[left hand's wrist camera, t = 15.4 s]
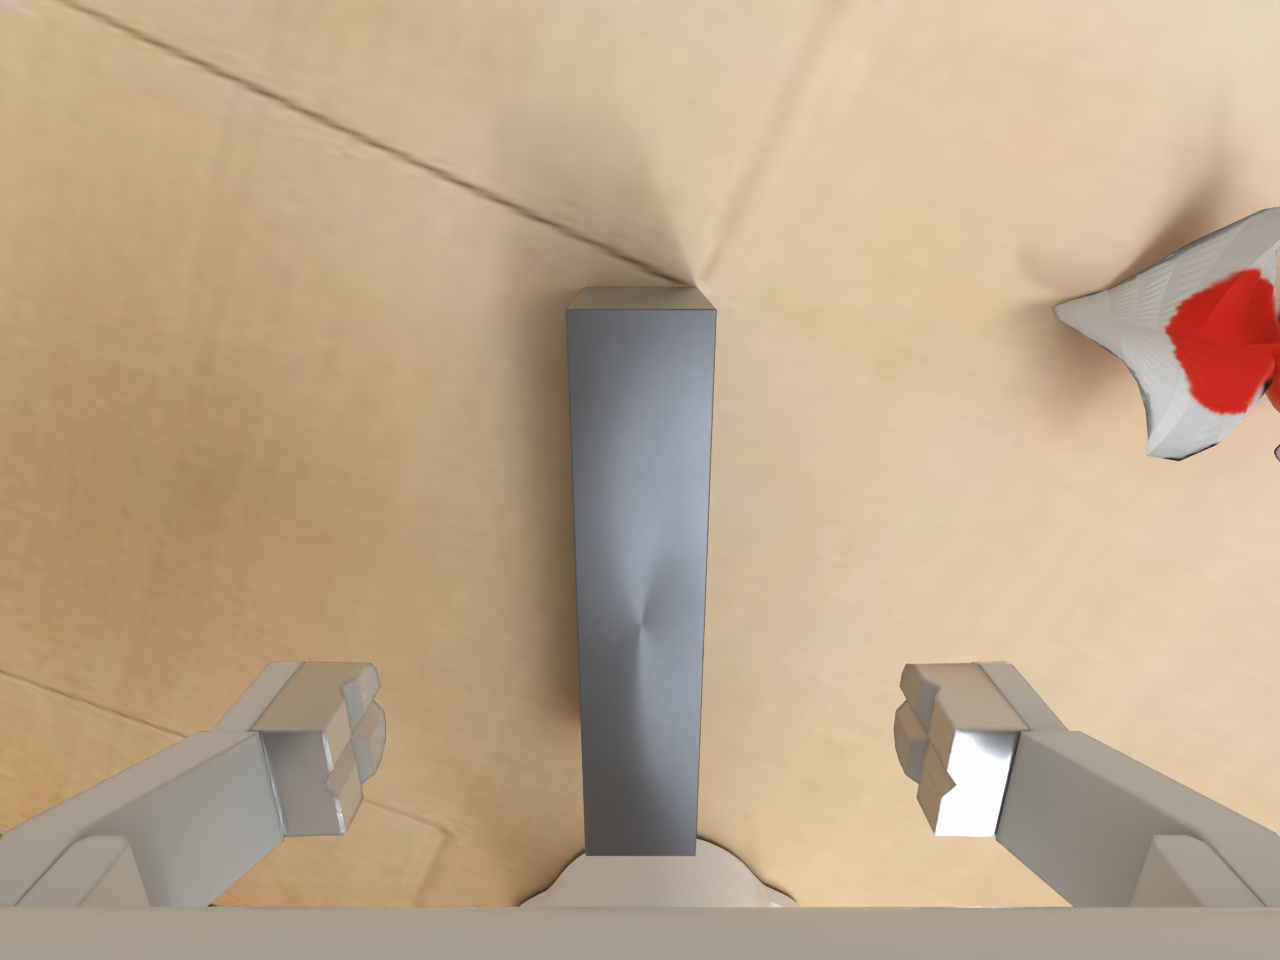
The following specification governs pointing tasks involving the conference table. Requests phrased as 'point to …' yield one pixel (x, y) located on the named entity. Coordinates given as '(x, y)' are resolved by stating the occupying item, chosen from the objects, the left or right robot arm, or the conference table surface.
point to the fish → (1195, 333)
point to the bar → (641, 557)
